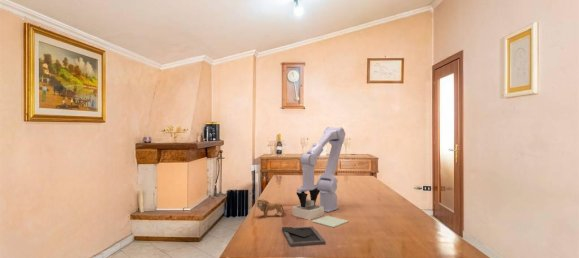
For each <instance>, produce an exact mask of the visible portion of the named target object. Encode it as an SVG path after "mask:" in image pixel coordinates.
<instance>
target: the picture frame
mask: <svg viewBox="0 0 579 258" xmlns="http://www.w3.org/2000/svg"><path fill="white" fill-rule="evenodd" d="M281 231H282V233H283V235H284V238H286V241H287V243H288V244H289V247H291V248H292V247H307V246H308V247H309V246H320V245H323V246H324V245H327V244H326V243H327V242H326V240H325V239H324V238H323V237H322V236H321V234H320V233H319V232H318V231H317V229H315V227H314V226H313V225H312V226H299V227H297V226H296V227H292V226H282V227H281Z"/></svg>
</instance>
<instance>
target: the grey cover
mask: <svg viewBox="0 0 579 258" xmlns="http://www.w3.org/2000/svg"><path fill="white" fill-rule="evenodd" d="M312 205H314V201H313V200H311V199H307V198H306V206H305V207H301V206H300V207H297V208H301V209H305V210H309V211H310V210H313V209H317V208H320V207H316V206H312Z"/></svg>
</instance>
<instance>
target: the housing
mask: <svg viewBox="0 0 579 258" xmlns="http://www.w3.org/2000/svg"><path fill="white" fill-rule="evenodd" d="M300 206H301V204H298V205H294V206H292V211H291V212H292V213H291V214H292V216H293V217H297V218H300V219H305V220H309V221H310V220H311V221H312V220H315V219H318V218H321V217H324V215H325V211H324V207H323V206H320V205H316V204H315V205H312V206H316V207H320V208H317V209H313V210H310V211H309V210H305V209H301V208H297V207H300Z"/></svg>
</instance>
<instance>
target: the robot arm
mask: <svg viewBox="0 0 579 258" xmlns="http://www.w3.org/2000/svg"><path fill="white" fill-rule="evenodd" d="M345 139H346V131H345V129H344V127H343V126H342V127H341V126H340V127H333V126H332V127H331V126H327V127H326V128H325V129H324V130H323V134H322V136H321V137H320V139H319V140H318V142H317V143H313V144H312V146H311V147H310V148H309V149H308V150H307V152H306V153H305V152H304V153H303V154H302V155H301V156H300V159H299V161H300V164H301V168H302V185H301V186H300V187H299V188H296V195H297V197H298V200H299V203H300V204H299V205H301V207H305V206H306V199H307V198H308V195H309V197H310V200H313V201H314V205H316V204H317V203H316V202H317V199H318V195H319V206H323V207H324V212H326V213H330V212H332V211H336V210H339V207H338V195H337V193H336V191H338V190H337V189H338V179H337V177H336V176H335V174H336V170H337V167H338V162H339V159H340V154H341V151H342V145H343V144H344V140H345ZM328 143H329V145H331V147H330V150H329V155H328V159H327V162H326V166H325V170H324V173H322V174H321V175H319V177H318V180H317V181H316V184H315V165H316V164H317V162H318V160H319V157H320V155H321V154H322V153H323V152H324V147H325V146H326V145H327V144H328ZM307 192H309V194H308V193H307Z"/></svg>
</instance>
